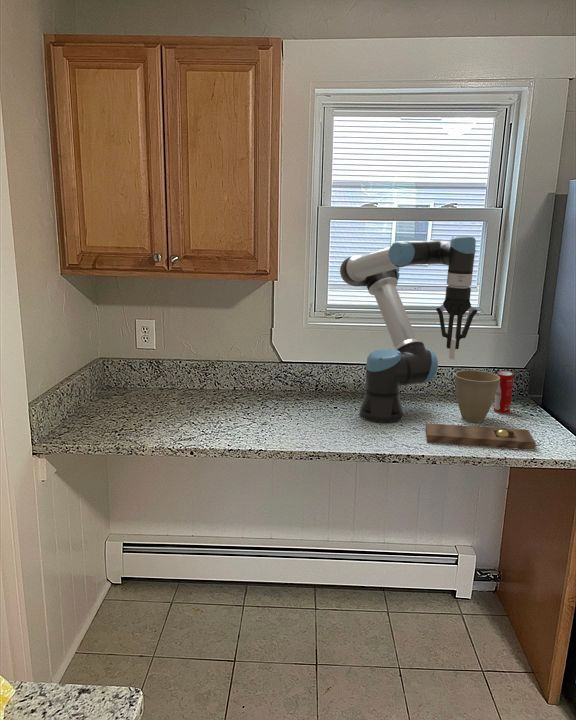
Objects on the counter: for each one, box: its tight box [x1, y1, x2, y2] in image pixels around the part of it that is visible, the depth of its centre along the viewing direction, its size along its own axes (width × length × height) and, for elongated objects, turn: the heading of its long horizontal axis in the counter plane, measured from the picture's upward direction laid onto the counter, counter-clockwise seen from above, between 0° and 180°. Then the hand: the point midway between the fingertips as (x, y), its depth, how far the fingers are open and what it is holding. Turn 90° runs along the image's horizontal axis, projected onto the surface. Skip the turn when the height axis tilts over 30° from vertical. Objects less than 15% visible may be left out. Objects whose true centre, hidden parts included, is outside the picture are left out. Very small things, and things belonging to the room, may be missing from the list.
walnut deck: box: [425, 422, 536, 450], centre depth 184 cm, size 32×11×2 cm, turn 79°
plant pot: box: [454, 369, 500, 424], centre depth 201 cm, size 15×15×16 cm
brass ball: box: [495, 429, 509, 438], centre depth 182 cm, size 4×4×4 cm
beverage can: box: [493, 370, 515, 415], centre depth 209 cm, size 6×6×15 cm
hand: (451, 358), depth 189 cm, fingers closed
